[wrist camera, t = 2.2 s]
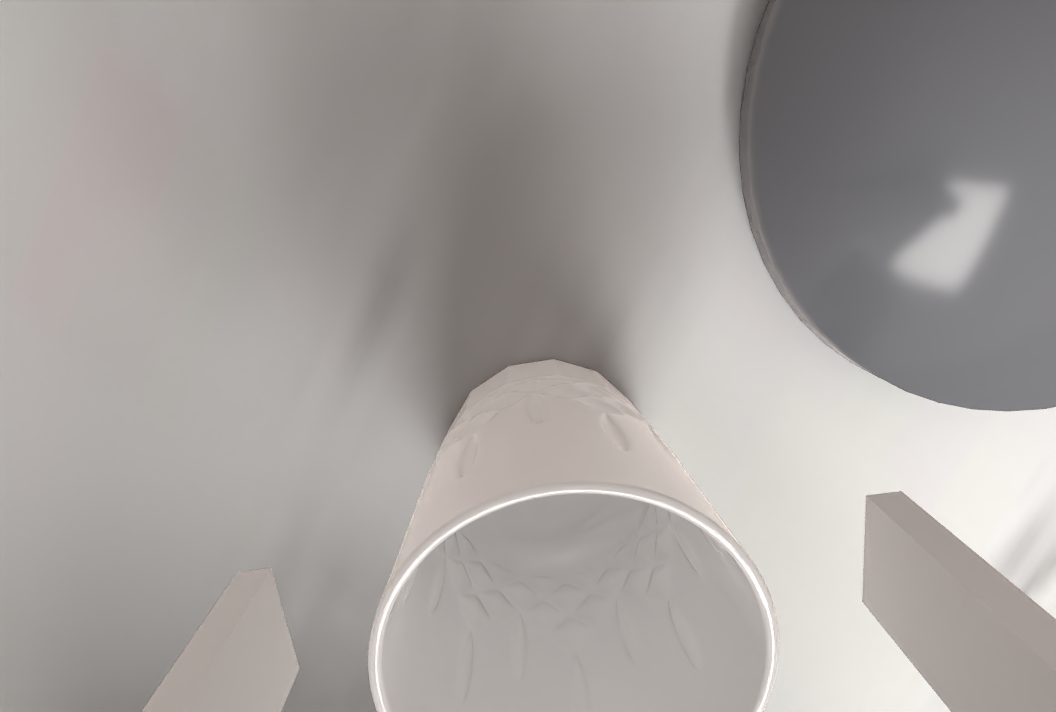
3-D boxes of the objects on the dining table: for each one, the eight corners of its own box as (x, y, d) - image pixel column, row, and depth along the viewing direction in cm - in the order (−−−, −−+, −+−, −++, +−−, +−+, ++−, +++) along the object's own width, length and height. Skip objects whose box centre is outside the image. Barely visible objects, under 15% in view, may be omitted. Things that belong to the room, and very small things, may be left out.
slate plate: (1269, 360, 21) (1325, 373, 20) (747, 426, 21) (764, 444, 20) (1404, -289, 17) (1490, -334, 15) (728, -200, 17) (749, -236, 15)
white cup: (578, 294, 20) (643, 398, 10) (700, 476, 22) (850, 707, 12) (383, 425, 21) (279, 630, 11) (516, 589, 23) (522, 883, 13)
